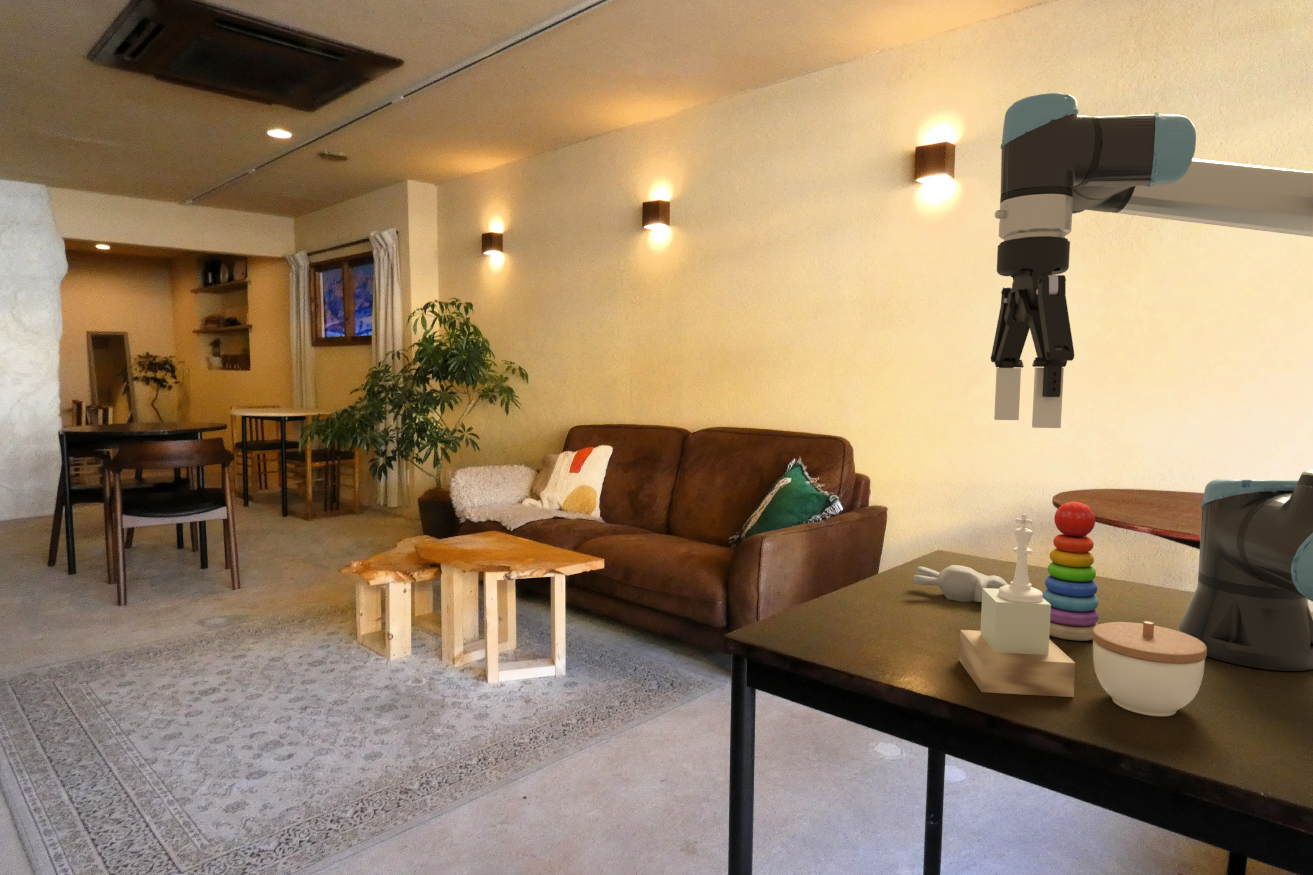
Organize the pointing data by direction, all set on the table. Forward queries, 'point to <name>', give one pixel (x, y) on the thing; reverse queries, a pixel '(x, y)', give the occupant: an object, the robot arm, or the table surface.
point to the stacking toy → (1072, 575)
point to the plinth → (1016, 669)
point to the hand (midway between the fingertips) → (1024, 423)
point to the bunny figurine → (958, 582)
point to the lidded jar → (1148, 666)
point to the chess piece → (1021, 569)
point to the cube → (1015, 624)
